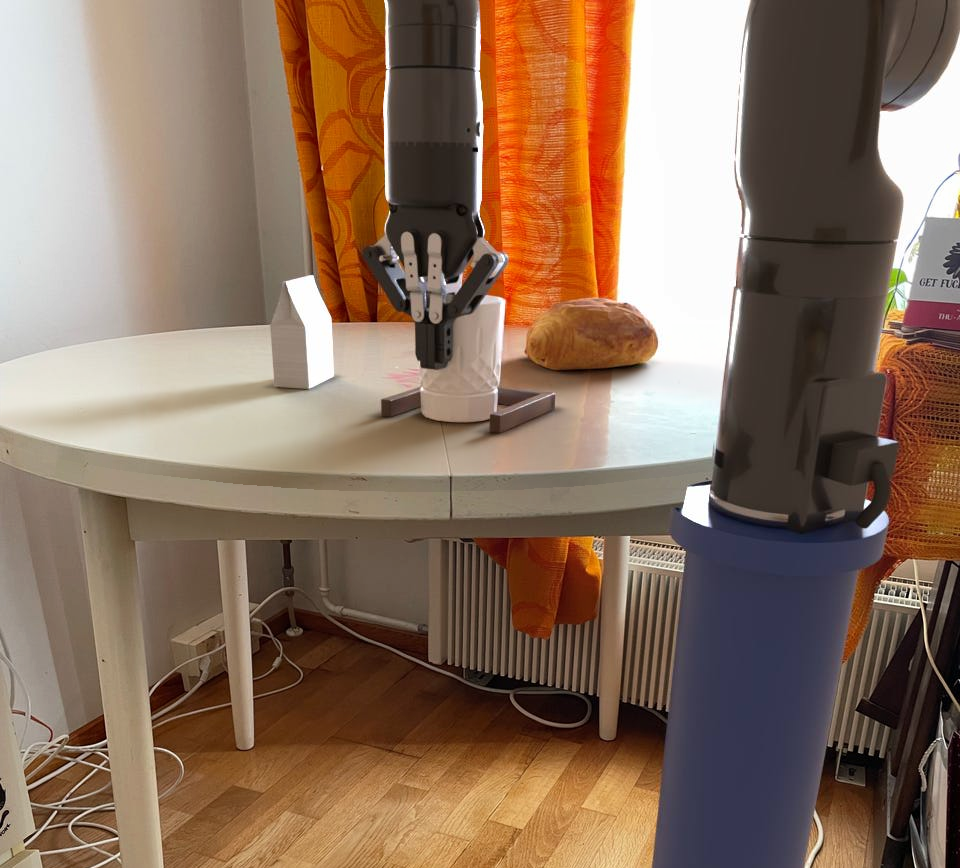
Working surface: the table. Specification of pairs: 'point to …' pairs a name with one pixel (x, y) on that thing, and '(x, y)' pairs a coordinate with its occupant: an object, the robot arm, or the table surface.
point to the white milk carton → (301, 336)
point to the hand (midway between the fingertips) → (434, 367)
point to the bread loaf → (590, 335)
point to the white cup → (468, 368)
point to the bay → (518, 412)
